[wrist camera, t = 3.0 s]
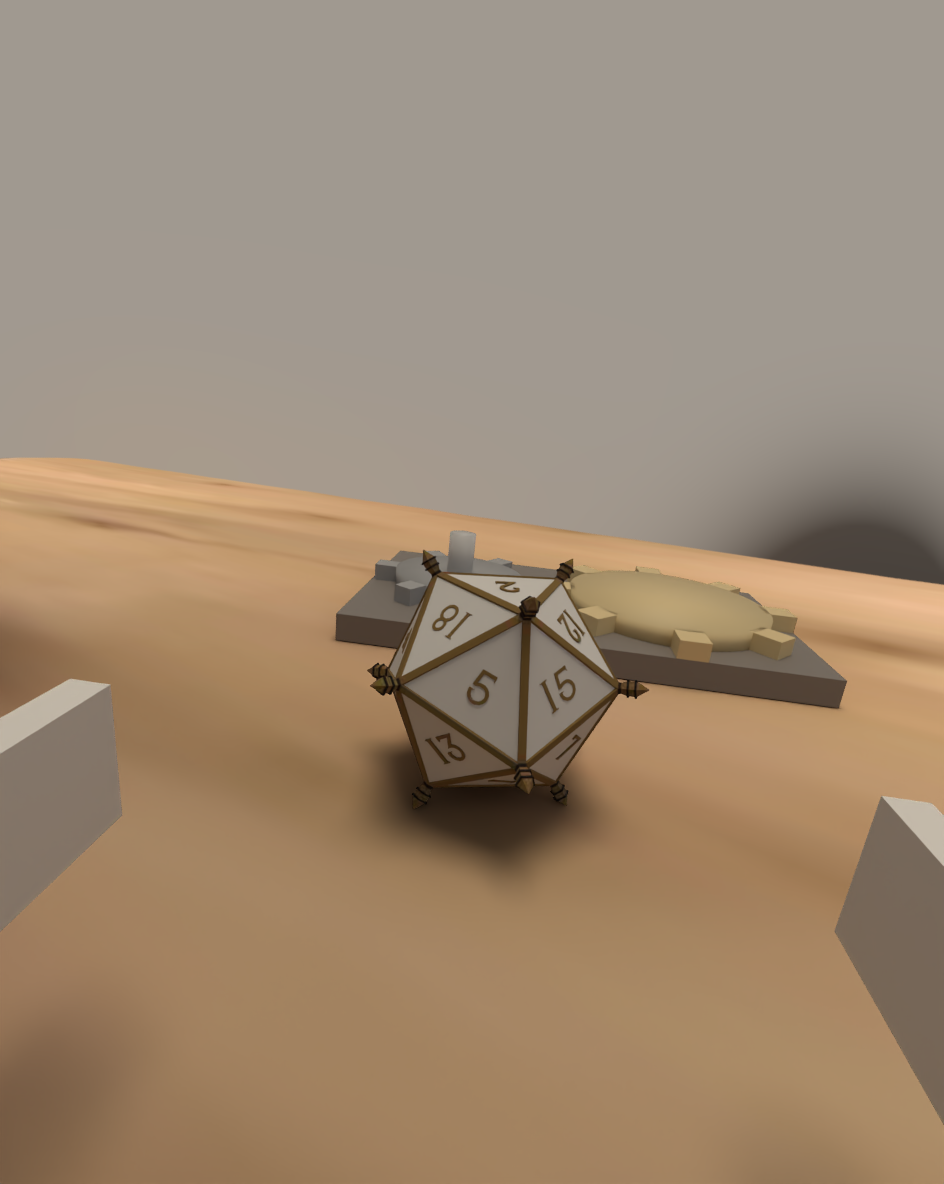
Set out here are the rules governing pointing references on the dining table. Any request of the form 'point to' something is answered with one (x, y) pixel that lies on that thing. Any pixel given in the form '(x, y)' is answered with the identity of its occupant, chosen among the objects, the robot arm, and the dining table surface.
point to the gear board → (628, 625)
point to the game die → (498, 681)
